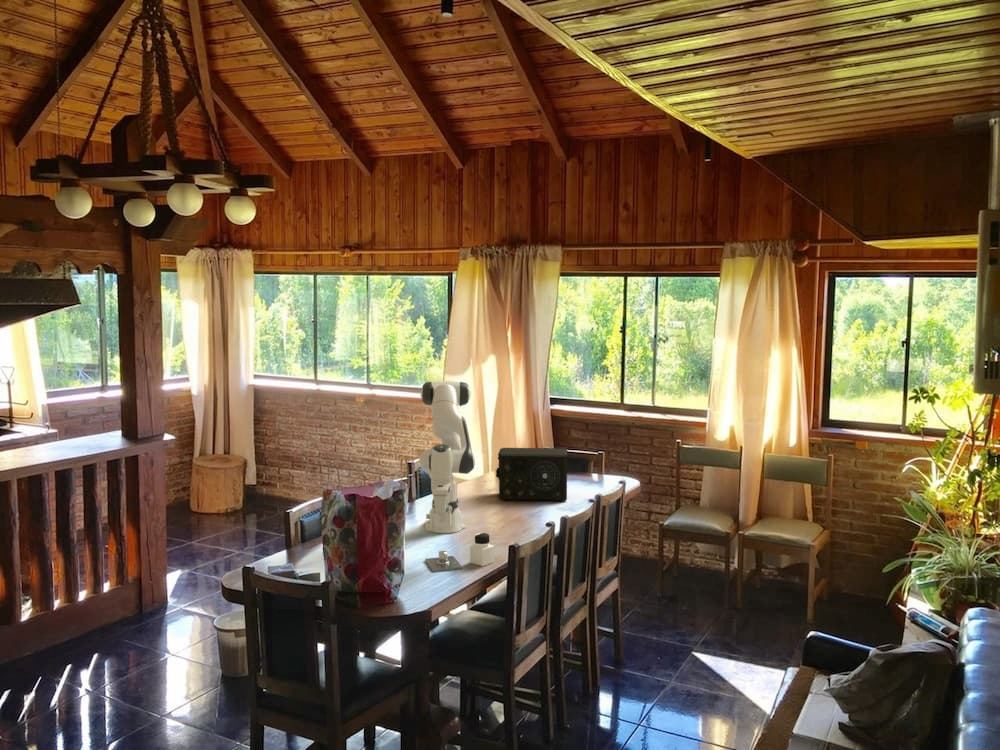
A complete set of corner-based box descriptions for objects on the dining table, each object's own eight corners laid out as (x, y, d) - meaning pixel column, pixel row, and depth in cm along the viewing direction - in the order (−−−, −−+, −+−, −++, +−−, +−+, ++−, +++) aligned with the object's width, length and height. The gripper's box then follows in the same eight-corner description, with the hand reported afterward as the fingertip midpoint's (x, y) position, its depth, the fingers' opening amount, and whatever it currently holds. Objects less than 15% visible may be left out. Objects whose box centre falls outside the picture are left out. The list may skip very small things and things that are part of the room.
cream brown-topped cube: (435, 522, 355) (435, 507, 355) (451, 522, 355) (451, 507, 354) (433, 526, 349) (433, 512, 348) (450, 526, 349) (450, 512, 348)
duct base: (424, 561, 359) (424, 548, 358) (453, 558, 362) (453, 545, 362) (432, 572, 346) (432, 559, 345) (461, 568, 349) (461, 555, 349)
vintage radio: (494, 502, 451) (494, 455, 448) (497, 493, 470) (497, 447, 467) (567, 503, 448) (567, 455, 445) (567, 494, 467) (567, 448, 464)
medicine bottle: (494, 562, 357) (494, 533, 356) (482, 566, 352) (482, 537, 351) (481, 558, 362) (481, 530, 361) (469, 562, 357) (469, 534, 355)
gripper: (437, 479, 361) (437, 512, 362) (431, 491, 340) (432, 526, 342) (452, 479, 360) (453, 512, 362) (447, 491, 340) (448, 526, 342)
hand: (442, 519), depth 352 cm, fingers closed on cream brown-topped cube, 6 cm apart
